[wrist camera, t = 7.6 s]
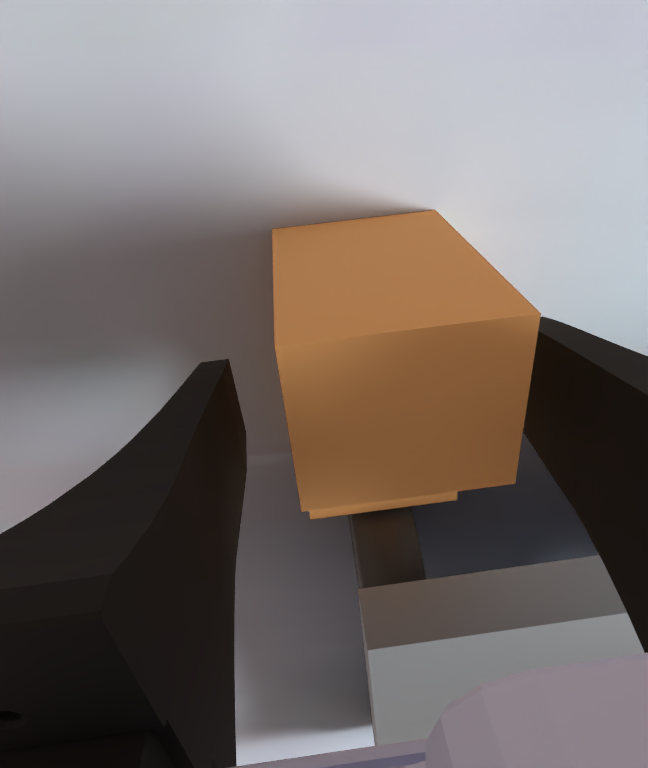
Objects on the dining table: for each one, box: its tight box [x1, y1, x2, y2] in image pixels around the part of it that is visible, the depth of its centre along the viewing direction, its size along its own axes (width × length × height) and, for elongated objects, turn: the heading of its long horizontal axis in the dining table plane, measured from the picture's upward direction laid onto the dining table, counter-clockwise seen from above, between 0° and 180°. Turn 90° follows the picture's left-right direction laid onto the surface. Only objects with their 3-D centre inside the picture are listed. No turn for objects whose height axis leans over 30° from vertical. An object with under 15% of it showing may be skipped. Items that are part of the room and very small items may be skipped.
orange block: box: [272, 210, 541, 519], centre depth 12 cm, size 4×7×6 cm, turn 5°
